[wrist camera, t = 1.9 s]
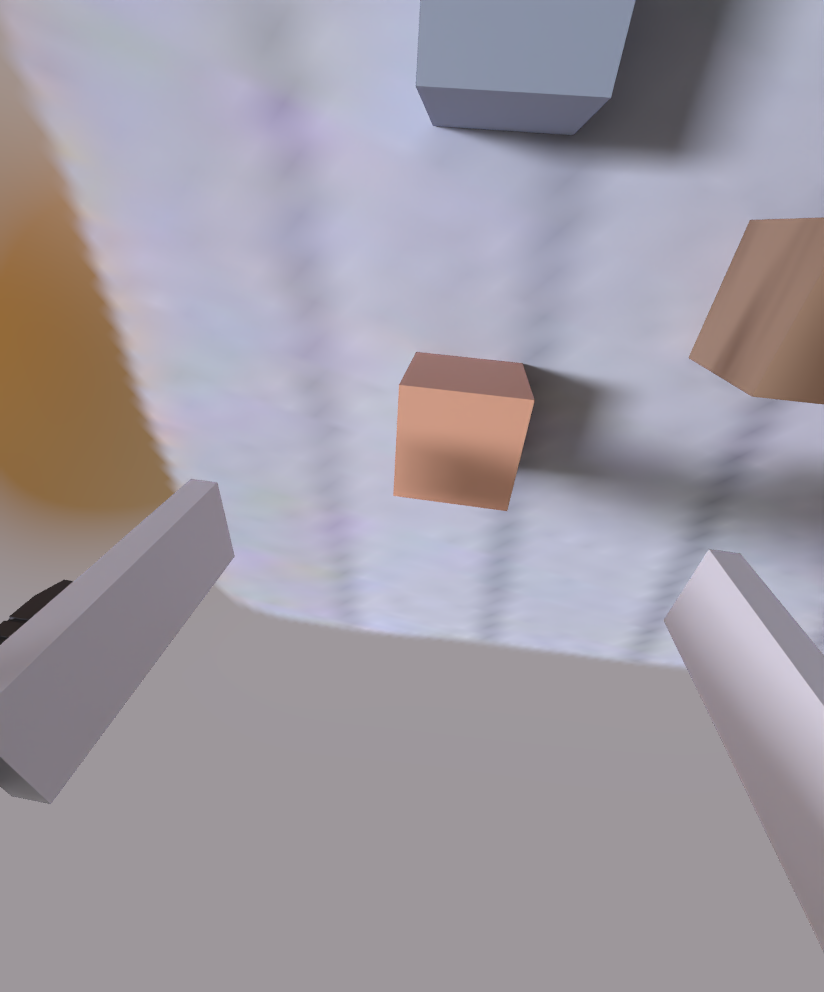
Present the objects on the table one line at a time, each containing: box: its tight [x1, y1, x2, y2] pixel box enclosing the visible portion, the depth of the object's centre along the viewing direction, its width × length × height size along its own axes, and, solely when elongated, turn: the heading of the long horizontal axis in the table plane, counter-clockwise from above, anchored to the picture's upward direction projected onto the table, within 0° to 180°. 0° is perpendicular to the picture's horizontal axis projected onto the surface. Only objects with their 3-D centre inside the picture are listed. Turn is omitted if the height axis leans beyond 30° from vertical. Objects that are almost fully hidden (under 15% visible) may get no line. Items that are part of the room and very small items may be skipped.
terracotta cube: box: [393, 352, 535, 511], centre depth 18 cm, size 5×5×5 cm
